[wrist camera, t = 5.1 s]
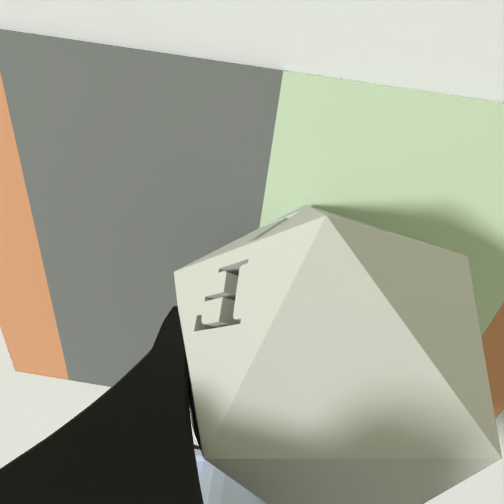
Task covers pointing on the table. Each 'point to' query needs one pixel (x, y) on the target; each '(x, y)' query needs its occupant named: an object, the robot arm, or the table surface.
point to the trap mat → (212, 186)
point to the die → (336, 363)
